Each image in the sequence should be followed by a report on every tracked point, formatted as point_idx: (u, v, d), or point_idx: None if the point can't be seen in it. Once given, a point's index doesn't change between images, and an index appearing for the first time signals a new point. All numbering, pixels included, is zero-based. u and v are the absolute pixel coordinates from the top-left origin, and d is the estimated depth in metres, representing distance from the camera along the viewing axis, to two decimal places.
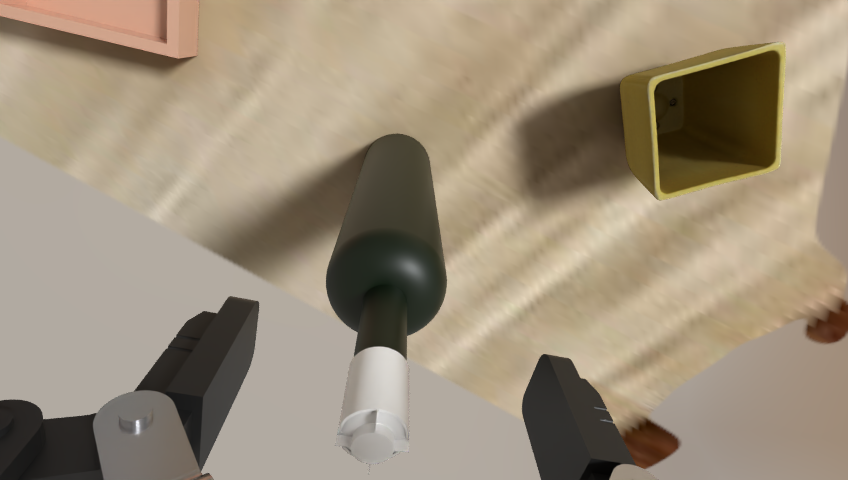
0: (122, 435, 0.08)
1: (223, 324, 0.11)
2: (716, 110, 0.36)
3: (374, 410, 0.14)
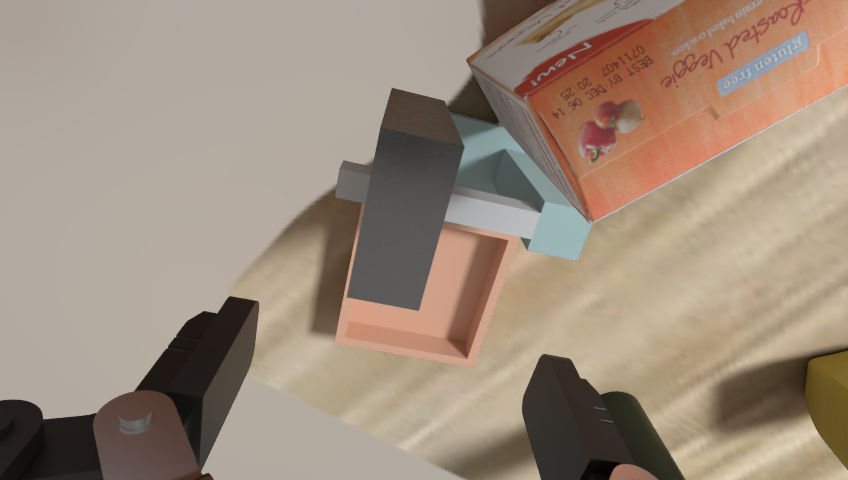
0: (122, 435, 0.08)
1: (223, 324, 0.11)
2: None
3: None
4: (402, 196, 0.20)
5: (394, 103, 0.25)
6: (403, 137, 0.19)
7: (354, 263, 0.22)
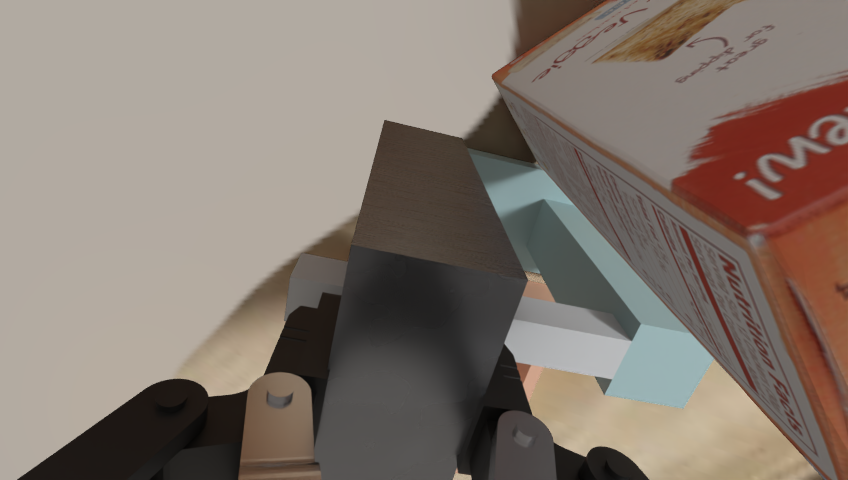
0: (275, 410, 0.09)
1: (325, 316, 0.12)
2: None
3: None
4: (398, 368, 0.10)
5: (386, 157, 0.15)
6: (399, 264, 0.09)
7: None
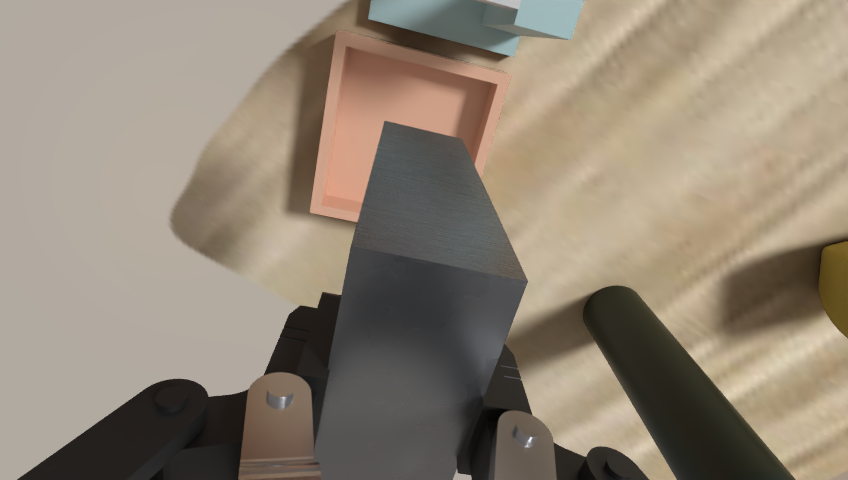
0: (275, 410, 0.09)
1: (325, 317, 0.12)
2: None
3: None
4: (397, 368, 0.10)
5: (386, 157, 0.15)
6: (399, 265, 0.09)
7: None
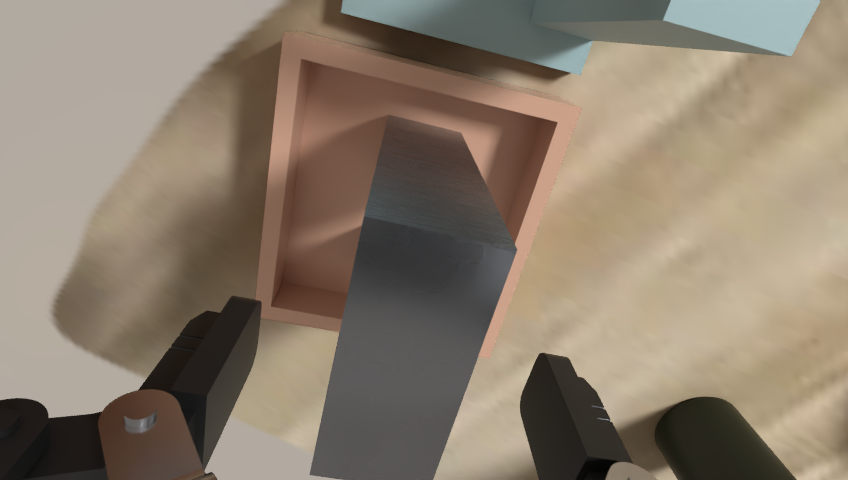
0: (127, 433, 0.08)
1: (226, 324, 0.11)
2: None
3: None
4: (402, 328, 0.12)
5: (391, 146, 0.17)
6: (405, 234, 0.11)
7: (321, 428, 0.13)
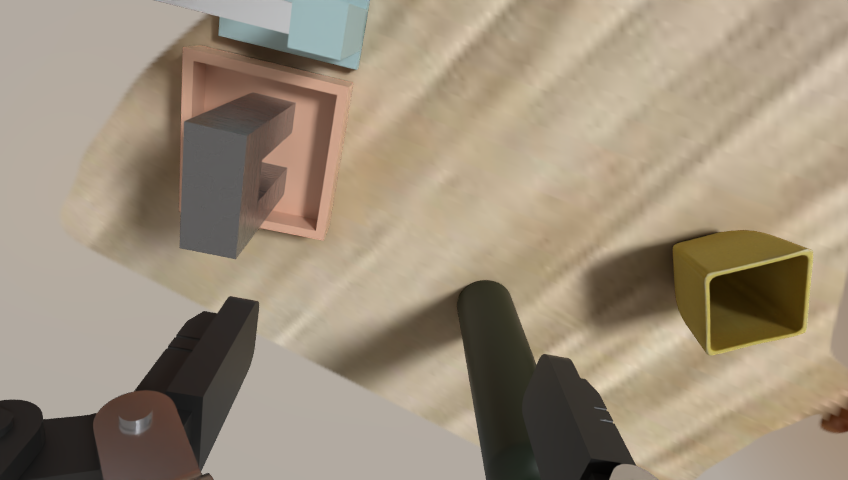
0: (122, 435, 0.08)
1: (223, 324, 0.11)
2: (752, 271, 0.45)
3: None
4: (208, 171, 0.28)
5: (231, 104, 0.33)
6: (201, 129, 0.27)
7: (181, 221, 0.30)
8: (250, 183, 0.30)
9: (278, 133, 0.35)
